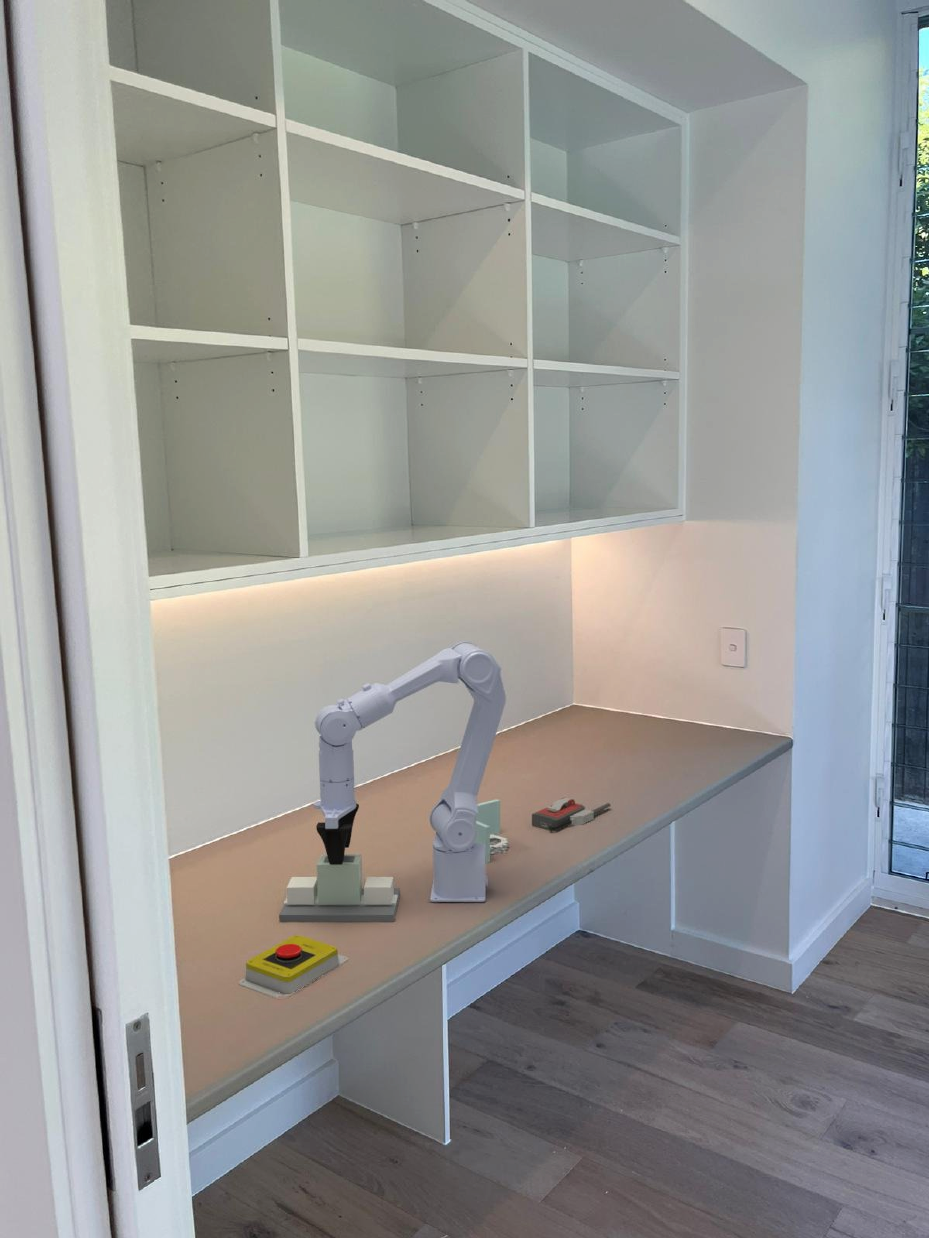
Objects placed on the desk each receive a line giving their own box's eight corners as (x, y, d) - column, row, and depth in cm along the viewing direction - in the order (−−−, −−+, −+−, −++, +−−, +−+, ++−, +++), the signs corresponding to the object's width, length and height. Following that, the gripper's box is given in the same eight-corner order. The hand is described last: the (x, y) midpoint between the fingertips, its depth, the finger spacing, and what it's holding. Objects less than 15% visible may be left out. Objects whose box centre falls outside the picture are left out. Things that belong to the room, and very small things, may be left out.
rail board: (400, 894, 185) (399, 869, 185) (393, 921, 174) (393, 895, 174) (292, 894, 186) (291, 869, 185) (279, 921, 175) (278, 895, 174)
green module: (362, 893, 182) (361, 853, 181) (359, 904, 178) (358, 863, 177) (322, 893, 182) (320, 854, 181) (318, 904, 178) (316, 863, 177)
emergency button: (234, 958, 154) (304, 920, 166) (235, 986, 155) (305, 947, 167) (280, 974, 149) (350, 934, 161) (282, 1004, 149) (351, 961, 162)
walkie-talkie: (561, 837, 213) (613, 811, 228) (561, 816, 212) (613, 792, 228) (525, 828, 219) (579, 803, 234) (525, 808, 218) (579, 784, 233)
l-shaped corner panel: (486, 865, 200) (485, 827, 198) (449, 847, 209) (448, 811, 208) (535, 851, 207) (535, 814, 205) (497, 834, 216) (496, 799, 215)
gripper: (320, 765, 184) (323, 840, 186) (305, 791, 170) (308, 871, 172) (360, 765, 184) (363, 839, 186) (348, 790, 170) (351, 871, 172)
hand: (339, 855), depth 179 cm, fingers open, 7 cm apart
